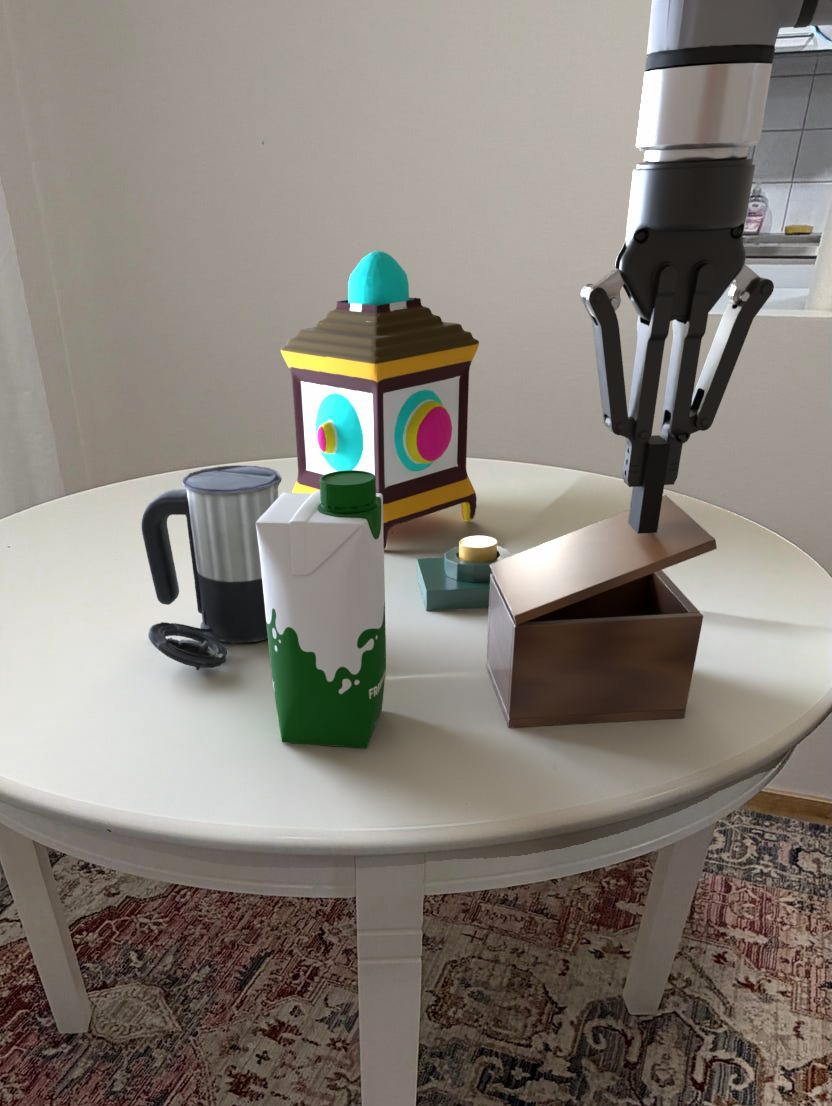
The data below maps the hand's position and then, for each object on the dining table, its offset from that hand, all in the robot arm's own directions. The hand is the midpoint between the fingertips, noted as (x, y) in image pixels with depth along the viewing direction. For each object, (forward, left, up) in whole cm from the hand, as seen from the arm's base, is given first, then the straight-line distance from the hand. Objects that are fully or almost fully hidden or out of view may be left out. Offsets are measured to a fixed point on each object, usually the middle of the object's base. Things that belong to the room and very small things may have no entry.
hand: (642, 527), depth 75 cm
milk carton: (+20, +16, -14) cm, 29 cm away
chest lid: (+3, +2, -3) cm, 4 cm away
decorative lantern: (+40, -35, -14) cm, 55 cm away
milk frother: (+38, +5, -14) cm, 41 cm away
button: (+20, -17, -10) cm, 28 cm away
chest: (+3, +2, -14) cm, 14 cm away
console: (+20, -17, -14) cm, 30 cm away
